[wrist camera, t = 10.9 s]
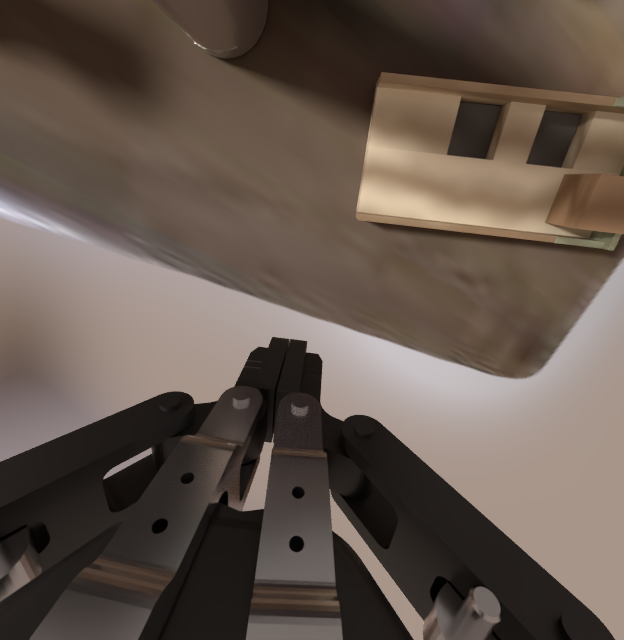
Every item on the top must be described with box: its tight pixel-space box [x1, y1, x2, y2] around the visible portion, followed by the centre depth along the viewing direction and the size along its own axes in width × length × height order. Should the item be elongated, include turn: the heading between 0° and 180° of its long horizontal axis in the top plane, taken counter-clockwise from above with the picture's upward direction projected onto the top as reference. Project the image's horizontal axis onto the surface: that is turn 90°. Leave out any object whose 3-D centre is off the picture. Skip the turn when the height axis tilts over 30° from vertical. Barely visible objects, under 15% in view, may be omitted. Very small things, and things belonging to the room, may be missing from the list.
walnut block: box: [545, 174, 624, 234], centre depth 32 cm, size 5×5×5 cm
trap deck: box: [356, 72, 624, 251], centre depth 33 cm, size 13×28×5 cm, turn 84°
